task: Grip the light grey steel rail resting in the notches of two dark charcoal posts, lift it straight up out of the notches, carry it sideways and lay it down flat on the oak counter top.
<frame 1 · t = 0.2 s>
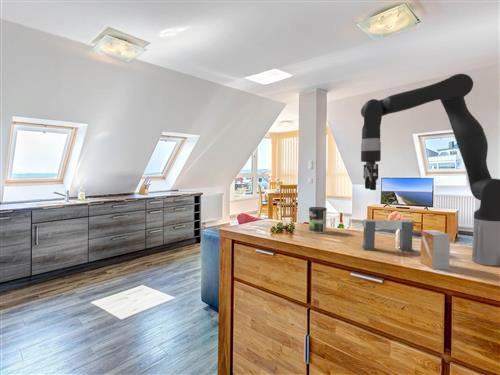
hand: (370, 189, 122), 29 cm above the cabinet, tool pointing down, fingers open, 8 cm apart
post far: (368, 248, 137), on the cabinet
post near: (405, 250, 134), on the cabinet
small box: (434, 266, 113), on the cabinet
coffee can: (317, 231, 175), on the cabinet
rail: (387, 227, 135), point 10 cm above the cabinet, touching post far, post near
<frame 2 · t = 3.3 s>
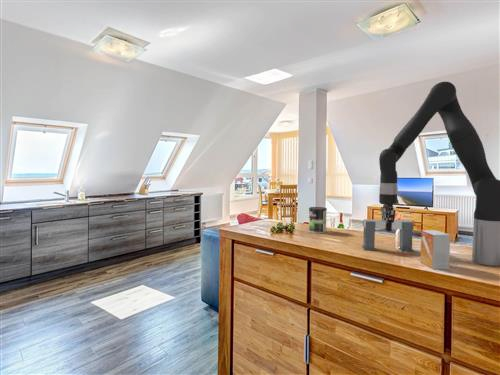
hand: (387, 230, 135), 9 cm above the cabinet, tool pointing down, fingers closed on rail, 3 cm apart
rail: (387, 227, 135), point 10 cm above the cabinet, touching gripper, post far, post near
everything else where it was.
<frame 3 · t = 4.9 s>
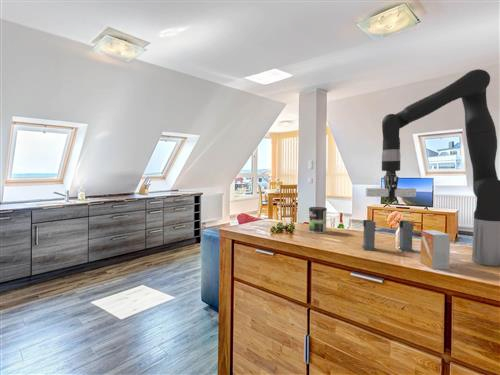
hand: (390, 198, 132), 24 cm above the cabinet, tool pointing down, fingers closed on rail, 3 cm apart
rail: (390, 196, 132), point 25 cm above the cabinet, touching gripper
everything else where it was.
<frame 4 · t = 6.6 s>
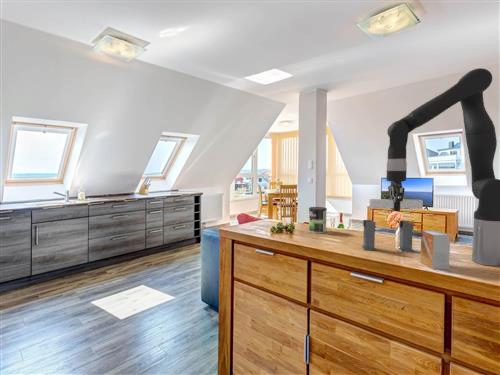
hand: (395, 210, 125), 20 cm above the cabinet, tool pointing down, fingers closed on rail, 3 cm apart
rail: (395, 207, 125), point 21 cm above the cabinet, touching gripper
everything else where it was.
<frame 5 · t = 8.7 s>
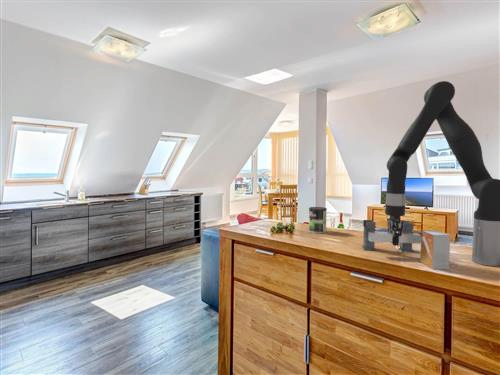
hand: (394, 243, 126), 5 cm above the cabinet, tool pointing down, fingers closed on rail, 3 cm apart
rail: (393, 241, 126), point 6 cm above the cabinet, touching gripper
everything else where it was.
when the fingers open (1 cm above the cabinet, at t = 10.1 s): rail drops 2 cm, on the cabinet.
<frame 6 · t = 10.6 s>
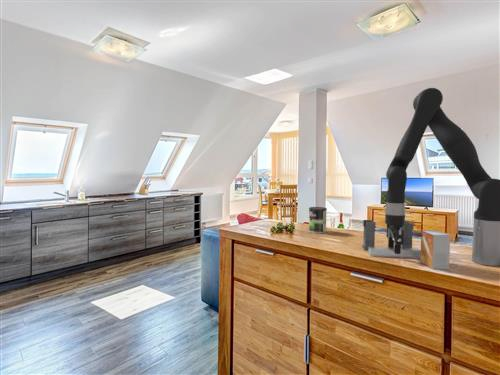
hand: (394, 250, 126), 2 cm above the cabinet, tool pointing down, fingers open, 8 cm apart
rail: (394, 256, 126), on the cabinet
everything else where it was.
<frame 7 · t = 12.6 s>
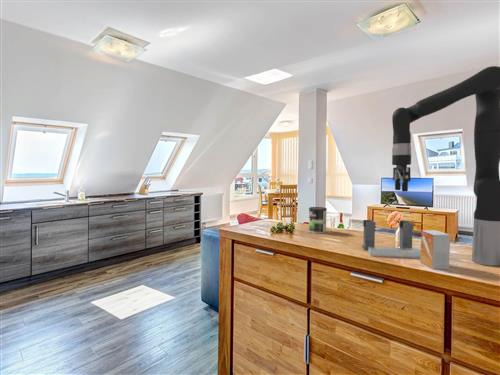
hand: (401, 190, 131), 27 cm above the cabinet, tool pointing down, fingers open, 8 cm apart
nothing on the cabinet moved.
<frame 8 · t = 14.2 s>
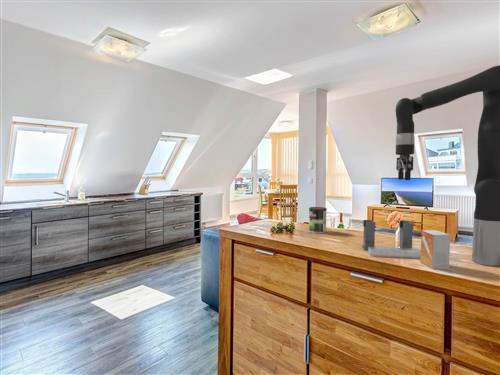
hand: (404, 179, 134), 32 cm above the cabinet, tool pointing down, fingers open, 8 cm apart
nothing on the cabinet moved.
at the end: rail inside the target area (0.6 cm from its centre), on the cabinet; rail on the cabinet; the gripper is holding nothing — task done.
